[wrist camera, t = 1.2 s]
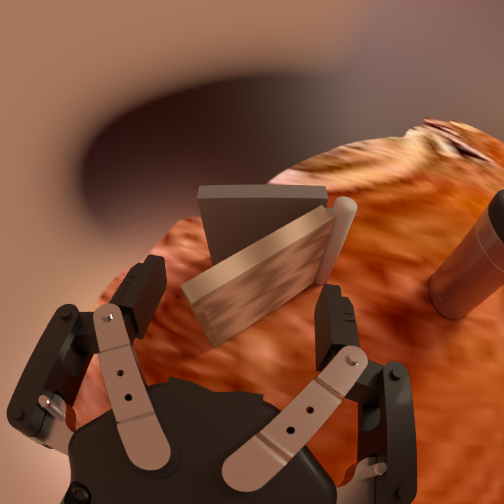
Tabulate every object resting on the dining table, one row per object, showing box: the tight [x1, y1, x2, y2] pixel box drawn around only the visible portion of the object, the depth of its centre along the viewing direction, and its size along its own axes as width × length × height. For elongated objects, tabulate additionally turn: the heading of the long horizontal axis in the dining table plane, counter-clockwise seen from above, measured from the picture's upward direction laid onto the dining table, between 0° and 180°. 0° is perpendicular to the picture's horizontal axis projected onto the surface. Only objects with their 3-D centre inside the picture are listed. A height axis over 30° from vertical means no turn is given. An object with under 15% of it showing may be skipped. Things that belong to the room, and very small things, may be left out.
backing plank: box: [197, 185, 357, 285], centre depth 34 cm, size 17×5×15 cm, turn 89°
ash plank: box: [180, 205, 335, 348], centre depth 31 cm, size 16×2×14 cm, turn 124°
